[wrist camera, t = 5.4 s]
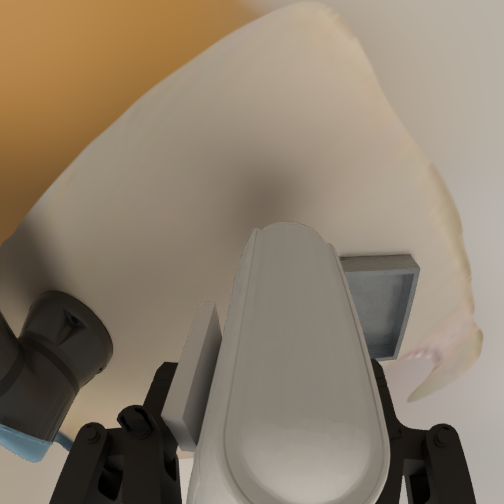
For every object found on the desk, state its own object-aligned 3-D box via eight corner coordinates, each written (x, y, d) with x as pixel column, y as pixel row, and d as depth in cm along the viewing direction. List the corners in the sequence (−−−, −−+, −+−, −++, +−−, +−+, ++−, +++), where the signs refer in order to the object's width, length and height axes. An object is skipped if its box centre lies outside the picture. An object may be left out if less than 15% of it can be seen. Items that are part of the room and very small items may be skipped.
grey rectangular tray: (331, 348, 37) (334, 365, 34) (339, 257, 31) (344, 272, 28) (390, 343, 36) (396, 359, 33) (410, 254, 30) (420, 268, 27)
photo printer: (286, 380, 18) (280, 574, 7) (218, 368, 18) (178, 564, 7) (343, 230, 13) (446, 544, 2) (248, 209, 13) (159, 560, 2)
